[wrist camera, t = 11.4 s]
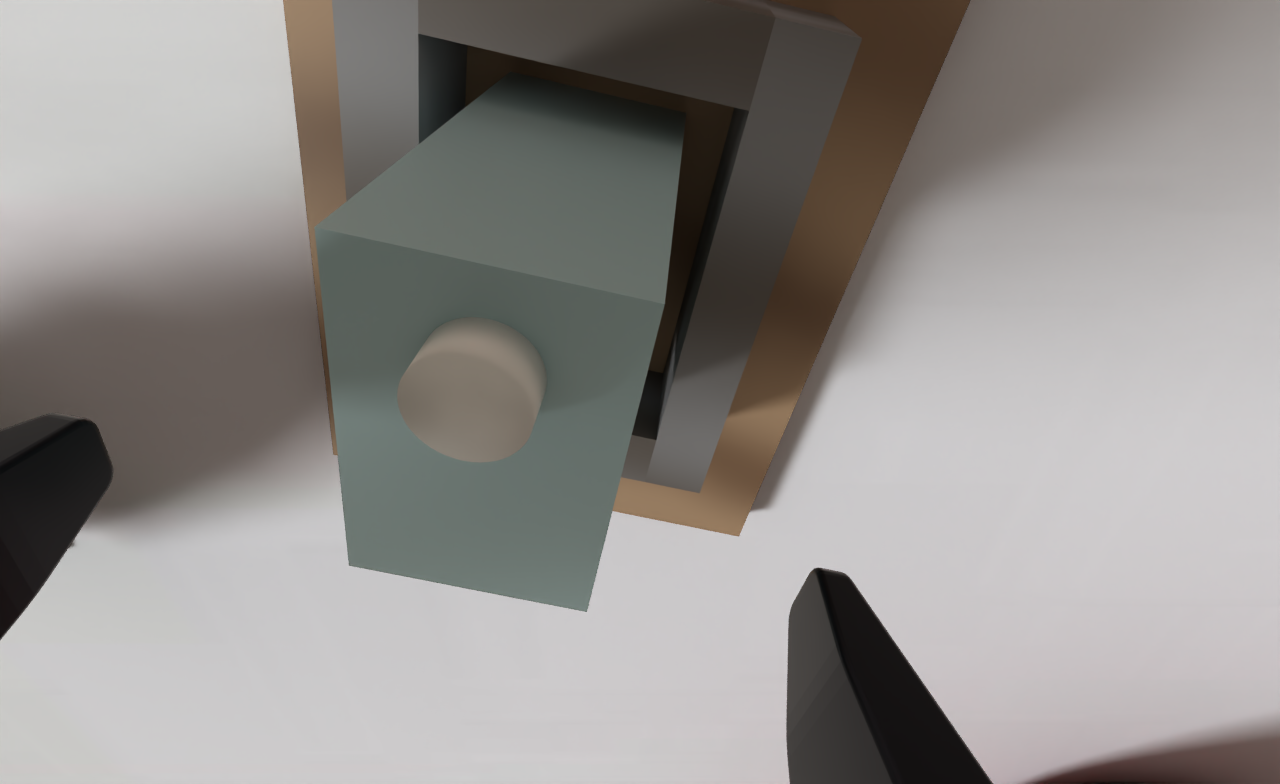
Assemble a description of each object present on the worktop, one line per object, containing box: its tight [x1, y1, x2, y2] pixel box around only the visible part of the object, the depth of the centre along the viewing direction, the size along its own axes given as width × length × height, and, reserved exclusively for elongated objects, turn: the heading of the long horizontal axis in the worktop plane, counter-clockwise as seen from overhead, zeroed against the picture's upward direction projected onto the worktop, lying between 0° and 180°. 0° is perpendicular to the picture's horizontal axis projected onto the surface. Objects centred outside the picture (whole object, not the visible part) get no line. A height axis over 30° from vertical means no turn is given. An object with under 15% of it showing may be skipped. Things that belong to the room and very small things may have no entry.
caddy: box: [283, 0, 970, 536], centre depth 16 cm, size 20×14×4 cm
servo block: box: [314, 72, 686, 612], centre depth 12 cm, size 6×4×10 cm, turn 169°
